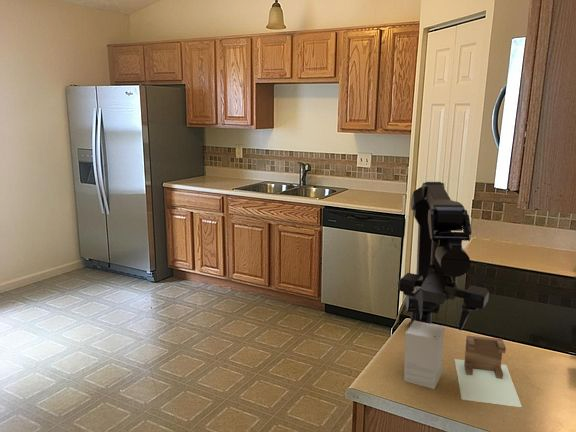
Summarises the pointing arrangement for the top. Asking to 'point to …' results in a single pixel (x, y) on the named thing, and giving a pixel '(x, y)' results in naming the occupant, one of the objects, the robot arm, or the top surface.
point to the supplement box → (423, 354)
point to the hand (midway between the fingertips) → (439, 324)
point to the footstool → (484, 355)
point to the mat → (487, 386)
